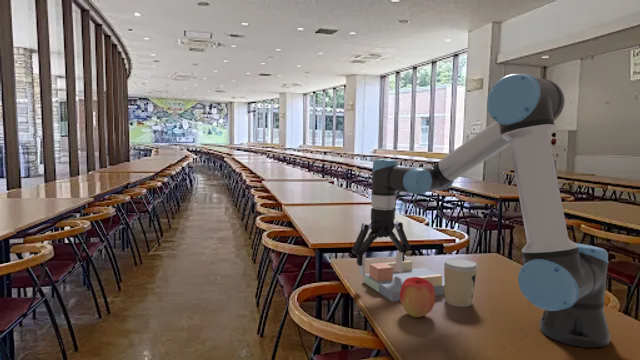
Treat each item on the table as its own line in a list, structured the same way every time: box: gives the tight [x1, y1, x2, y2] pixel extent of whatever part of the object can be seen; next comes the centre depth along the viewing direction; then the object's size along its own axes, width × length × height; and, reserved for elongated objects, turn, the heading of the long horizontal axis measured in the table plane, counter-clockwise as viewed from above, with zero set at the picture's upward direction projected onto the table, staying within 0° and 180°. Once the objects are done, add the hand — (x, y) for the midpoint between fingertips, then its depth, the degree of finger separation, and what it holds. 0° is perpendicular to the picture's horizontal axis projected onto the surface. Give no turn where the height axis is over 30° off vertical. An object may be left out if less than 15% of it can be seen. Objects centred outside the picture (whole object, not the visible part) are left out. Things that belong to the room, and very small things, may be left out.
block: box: [368, 262, 393, 281], centre depth 143 cm, size 6×6×4 cm
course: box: [362, 260, 445, 302], centre depth 143 cm, size 18×24×6 cm
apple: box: [400, 277, 437, 318], centre depth 120 cm, size 10×10×10 cm
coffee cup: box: [443, 257, 478, 308], centre depth 131 cm, size 9×9×12 cm
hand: (380, 273), depth 142 cm, fingers open, 13 cm apart
